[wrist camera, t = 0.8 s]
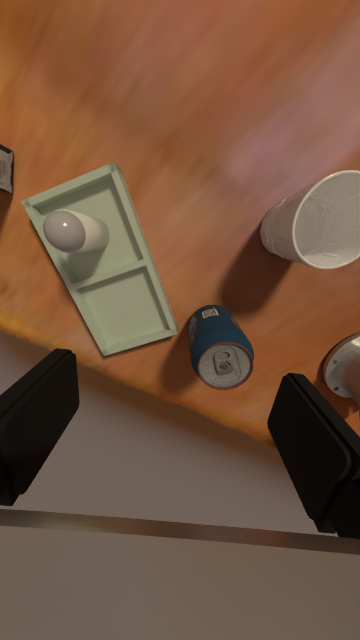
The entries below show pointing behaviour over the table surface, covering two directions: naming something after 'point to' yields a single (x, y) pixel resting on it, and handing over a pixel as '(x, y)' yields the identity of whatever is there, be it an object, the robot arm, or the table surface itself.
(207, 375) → the soda can
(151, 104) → the table surface
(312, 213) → the white cup
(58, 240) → the shaker
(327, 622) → the robot arm
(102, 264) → the caddy
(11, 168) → the candy bar box
